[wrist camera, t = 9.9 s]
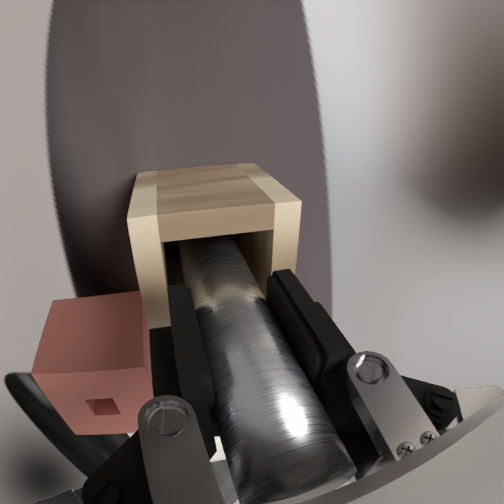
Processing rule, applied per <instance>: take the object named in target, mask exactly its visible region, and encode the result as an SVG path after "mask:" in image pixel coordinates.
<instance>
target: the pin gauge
mask: <svg viewBox="0 0 504 504" xmlns="http://www.w3.org/2000/svg"><path fill="white" fill-rule="evenodd" d="M178 246H179V252H180V258H181V264H182V270H183V275H184V281H185V286H186V288H187V287H191V292H192V296H193V301H194V306H195V310H196V315H197V319H198V324H199V328H200V332H201V337H202V341H203V345H204V349H205V353H206V358H207V362H208V366H209V370H210V374H211V379H212V384H213V390H214V398H215V405H216V408H215V411H214V418H215V421H216V425H217V429H218V433H219V436H220V440H221V443H222V447H223V451H224V454H225V457H226V461H227V464H228V468H229V471H230V474H231V478H232V481H233V484H234V487H235V490H236V493H237V497H238V500H239V503H240V504H297V503H300V502H303V501H306V500H309V499H312V498H315V497H317V496H320V495H323V494H326V493H328V492H331V491H333V490H335V489H337V488H338V487H340V486H341V485H343V484H344V483H346V482H347V481H348V480H350V479H351V478H352V477H353V476H354V475H355V473H356V472H357V469H356V467H355V465H354V463H353V461H352V460H351V458H350V456H349V454H348V452H347V450H346V449H345V447H344V445H343V443H342V441H341V439H340V438H339V436H338V434H337V432H336V430H335V428H334V427H333V425H332V423H331V421H330V419H329V417H328V416H327V414H326V412H325V410H324V408H323V406H322V404H321V403H320V401H319V399H318V397H317V395H316V393H315V392H314V390H313V388H312V386H311V384H310V382H309V380H308V379H307V377H306V375H305V373H304V371H303V369H302V367H301V365H300V364H299V362H298V360H297V358H296V356H295V354H294V352H293V350H292V349H291V347H290V345H289V343H288V341H287V339H286V337H285V335H284V334H283V332H282V330H281V328H280V326H279V324H278V322H277V320H276V319H275V317H274V315H273V313H272V311H271V309H270V307H269V305H268V303H267V301H266V300H265V298H264V296H263V294H262V292H261V290H260V288H259V286H258V284H257V283H256V281H255V279H254V277H253V275H252V273H251V271H250V269H249V267H248V265H247V263H246V262H245V260H244V258H243V256H242V254H241V252H240V250H239V248H238V246H237V244H236V242H235V240H234V239H233V237H232V235H231V234H228V235H219V236H210V237H202V238H193V239H185V240H179V241H178Z"/></svg>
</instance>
